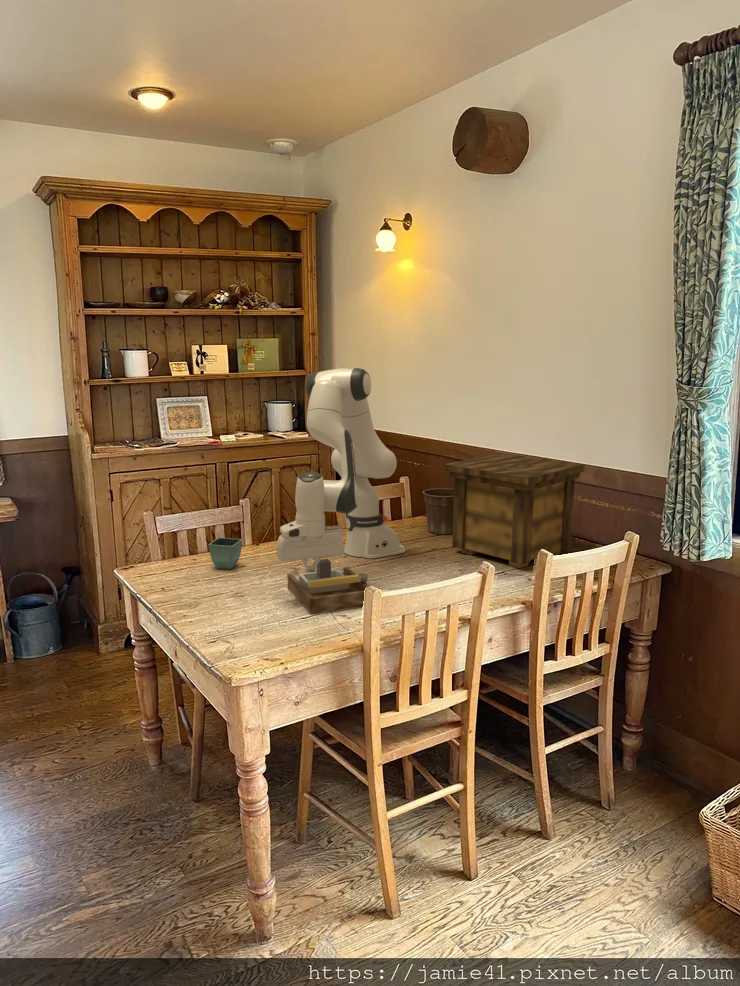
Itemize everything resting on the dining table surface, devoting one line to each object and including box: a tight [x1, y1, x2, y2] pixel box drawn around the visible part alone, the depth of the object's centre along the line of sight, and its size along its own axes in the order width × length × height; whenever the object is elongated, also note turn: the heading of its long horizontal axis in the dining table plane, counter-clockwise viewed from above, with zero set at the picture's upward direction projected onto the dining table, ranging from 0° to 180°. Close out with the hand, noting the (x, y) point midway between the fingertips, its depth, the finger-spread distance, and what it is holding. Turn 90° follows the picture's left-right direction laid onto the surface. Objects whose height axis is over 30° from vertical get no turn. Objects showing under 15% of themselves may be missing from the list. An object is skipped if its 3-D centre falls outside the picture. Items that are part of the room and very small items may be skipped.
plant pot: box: [422, 487, 454, 536], centre depth 303 cm, size 16×16×16 cm
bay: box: [287, 566, 370, 615], centre depth 230 cm, size 20×24×5 cm
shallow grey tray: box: [298, 558, 349, 594], centre depth 234 cm, size 13×11×8 cm
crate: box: [444, 452, 586, 569], centre depth 272 cm, size 35×35×33 cm
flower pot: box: [208, 537, 243, 570], centre depth 257 cm, size 9×9×9 cm
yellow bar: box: [308, 572, 369, 588], centre depth 226 cm, size 18×3×2 cm, turn 111°
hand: (310, 571), depth 228 cm, fingers closed
